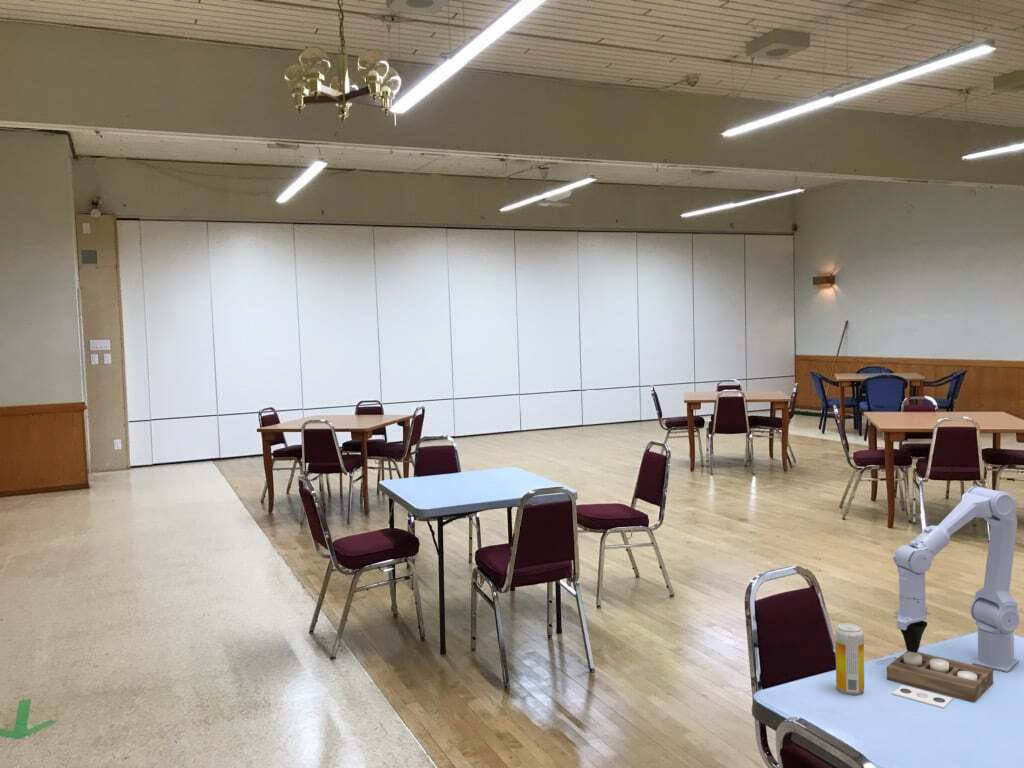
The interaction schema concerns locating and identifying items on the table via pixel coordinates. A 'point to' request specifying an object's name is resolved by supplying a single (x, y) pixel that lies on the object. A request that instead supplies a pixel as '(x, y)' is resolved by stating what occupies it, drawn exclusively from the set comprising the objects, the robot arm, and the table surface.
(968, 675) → the right button
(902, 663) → the button panel
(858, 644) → the beer can
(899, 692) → the card
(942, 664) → the middle button
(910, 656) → the left button
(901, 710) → the table surface
